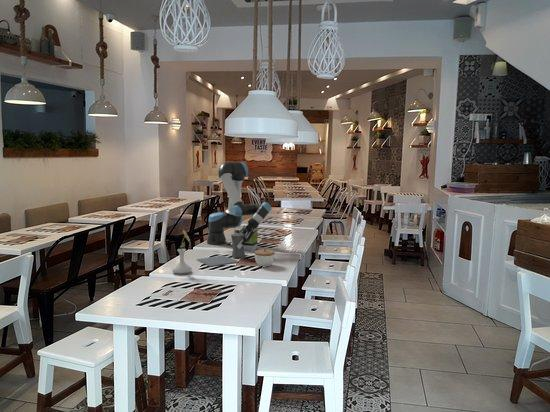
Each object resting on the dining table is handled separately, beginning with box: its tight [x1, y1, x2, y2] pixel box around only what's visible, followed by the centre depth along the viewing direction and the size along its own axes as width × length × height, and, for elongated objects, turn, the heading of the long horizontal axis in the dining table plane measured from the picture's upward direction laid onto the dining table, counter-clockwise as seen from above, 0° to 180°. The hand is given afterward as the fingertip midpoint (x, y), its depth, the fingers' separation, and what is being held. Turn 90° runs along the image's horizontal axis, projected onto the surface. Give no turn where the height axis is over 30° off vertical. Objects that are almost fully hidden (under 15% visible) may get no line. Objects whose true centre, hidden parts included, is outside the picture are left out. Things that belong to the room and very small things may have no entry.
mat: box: [196, 254, 239, 268], centre depth 283 cm, size 20×20×1 cm
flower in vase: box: [171, 229, 193, 275], centre depth 255 cm, size 13×11×25 cm
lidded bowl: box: [254, 248, 275, 267], centre depth 272 cm, size 13×13×11 cm
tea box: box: [233, 227, 258, 251], centre depth 319 cm, size 15×10×15 cm, turn 73°
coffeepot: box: [230, 230, 246, 259], centre depth 296 cm, size 15×9×18 cm, turn 151°
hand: (235, 246), depth 294 cm, fingers closed on coffeepot, 8 cm apart
